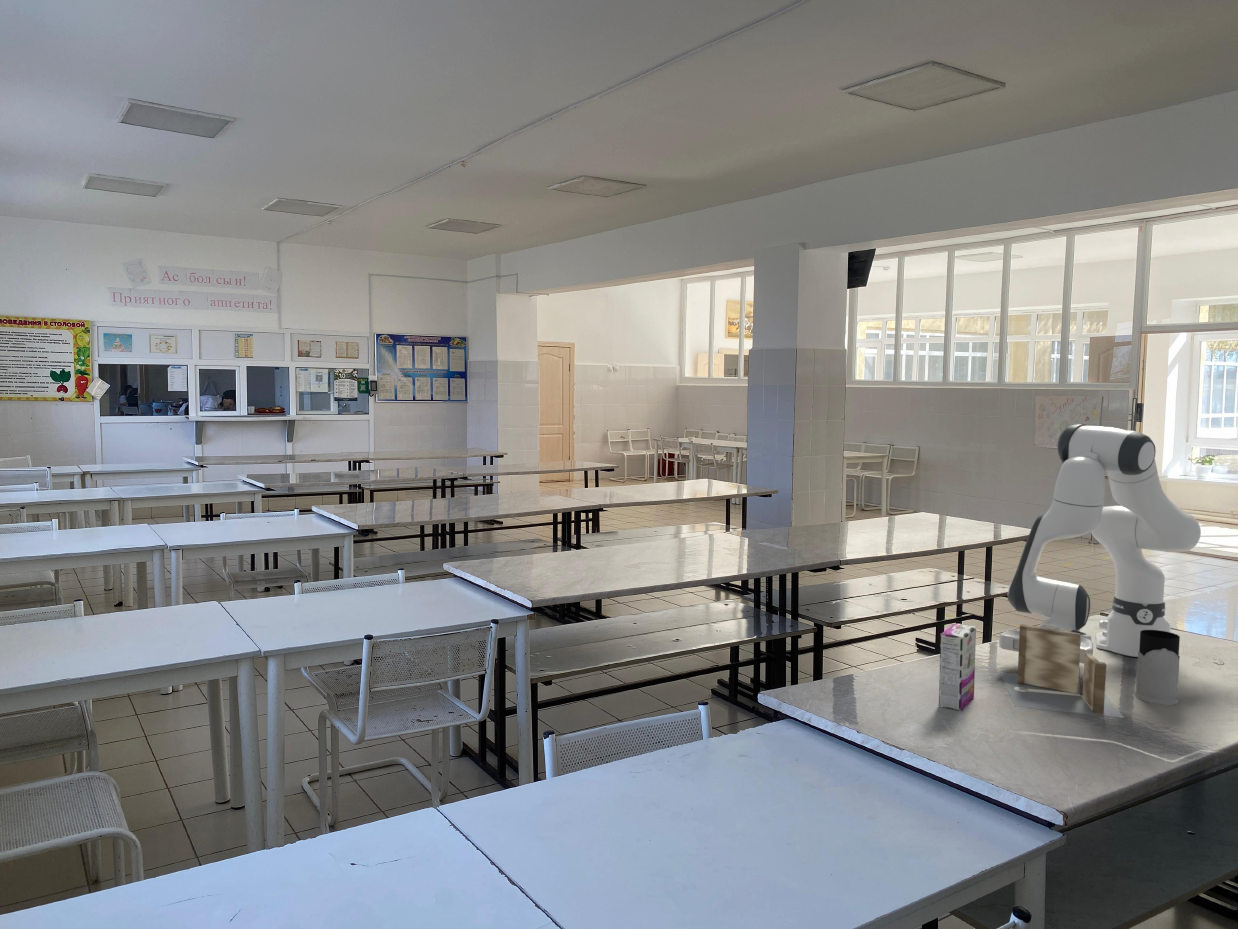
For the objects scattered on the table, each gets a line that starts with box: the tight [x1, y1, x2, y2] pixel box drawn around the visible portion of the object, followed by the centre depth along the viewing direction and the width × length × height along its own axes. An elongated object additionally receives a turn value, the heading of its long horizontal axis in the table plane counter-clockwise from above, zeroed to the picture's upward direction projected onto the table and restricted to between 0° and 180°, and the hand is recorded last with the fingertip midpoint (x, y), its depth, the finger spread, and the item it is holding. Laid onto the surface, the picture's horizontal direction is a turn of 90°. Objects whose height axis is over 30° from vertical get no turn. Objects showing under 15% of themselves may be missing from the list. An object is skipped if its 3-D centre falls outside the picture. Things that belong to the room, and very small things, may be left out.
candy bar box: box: [938, 623, 977, 712], centre depth 186 cm, size 11×5×16 cm, turn 143°
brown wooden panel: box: [1017, 624, 1081, 693], centre depth 195 cm, size 12×2×14 cm, turn 54°
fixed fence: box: [1080, 653, 1107, 714], centre depth 185 cm, size 13×2×11 cm, turn 165°
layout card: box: [999, 671, 1125, 719], centre depth 192 cm, size 25×21×1 cm
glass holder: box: [1133, 630, 1181, 706], centre depth 192 cm, size 9×14×15 cm, turn 161°
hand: (1038, 653), depth 197 cm, fingers closed
